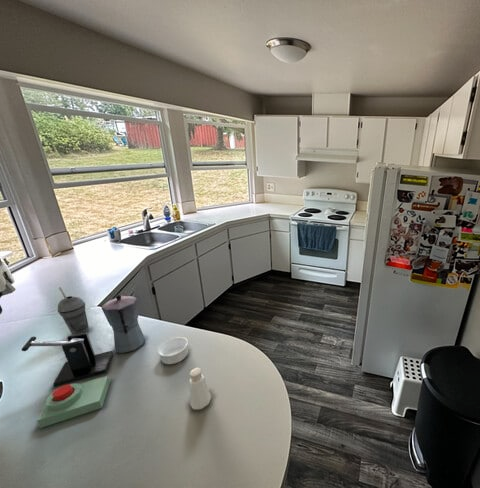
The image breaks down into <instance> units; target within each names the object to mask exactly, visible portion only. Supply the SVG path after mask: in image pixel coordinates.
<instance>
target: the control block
mask: <svg viewBox="0 0 480 488" xmlns="http://www.w3.org/2000/svg"><path fill="white" fill-rule="evenodd" d="M68 385H71V386H72V388H73V393H72V395H70V396H69V397H68V398H66V399H64V400H61V401H55V400H54V398H53V395H52V394H53V392H54V391H55V390H54V391H52V393H51V394H50V395H48V397H47V399H46V400H45V405H44V407H43V408H42V411H41V412H40V413H39V417H38V418H37V419H36V421H37V423H38V425H39V427H40V429H41V428H45V427H48V426H51V425H54V424H58V423H60V422H63V421H67V420H70V419H72V418H76V417H79V416H83V415H84V414H87V413H91V412H94V411H97V410H100V409H102V408H103V406H104V402H105V400H106V397H107V393H108V391H109V387H110V385H111V381H110V378H109V375H106V376H102V377H99V378H95V379H92V380H88V381H84V382H82V383H68Z"/></svg>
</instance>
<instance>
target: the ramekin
mask: <svg viewBox="0 0 480 488" xmlns="http://www.w3.org/2000/svg"><path fill="white" fill-rule="evenodd" d="M157 354H158V356H159V357H160V359H161V362H162V363H163V364H165V365H174V364H175V365H176V364H177V363H179V362H182V361H183V360H184V359H185V358H186V357H187V356H188V354H189V340H188V339H187V338H186V337H184V336H176V337H172V338H170V339H167V340H166V341H164V342H162V344H160V345H159V346H158V349H157Z"/></svg>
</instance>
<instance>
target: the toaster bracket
mask: <svg viewBox="0 0 480 488" xmlns="http://www.w3.org/2000/svg"><path fill="white" fill-rule="evenodd" d="M72 338H84V343H83V340H81V341H76V342H72V343H67V344H63V345H62V346H61V348H62V352H63V354H64V356H65V359H66V360H67V361H65V362H64V364H63V365H62V367H61V369H60V371H59V373H58V375H57V376H56V378H55V380H54V382H53V383H52V385H53V387H54V388H56V387H60V386H64V385H68V384H71V383H73V382H77V381H80V380H81V381H82V380H84V379H87V378H91V377H95V376H99V375H101V374H106V373H107V371H108V368H109V366H110V363H111V360H112V357H113V354H114V352H113V350H108V351H105V352H101V353H97V354H95V351H94V348H93V345H92V343H91V339H90V336H89V334H88V333H87V332H85V333H80V334H75V335H72V334H71V335H68V336H67V338H66V339H67V341H71V340H72Z"/></svg>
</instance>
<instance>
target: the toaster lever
mask: <svg viewBox="0 0 480 488" xmlns="http://www.w3.org/2000/svg"><path fill="white" fill-rule="evenodd" d="M81 340H83V343H84V338H72V340H71V341H68V340H37V337H36V336H31V337H30V338H29V339H28V340H27V341H26V343H25V344H24V345H23V347H22V348H21V351H22V352H27V351H28V350H29V349H30V347H62V345H63V344H67V343H72V342H76V341H81Z"/></svg>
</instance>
